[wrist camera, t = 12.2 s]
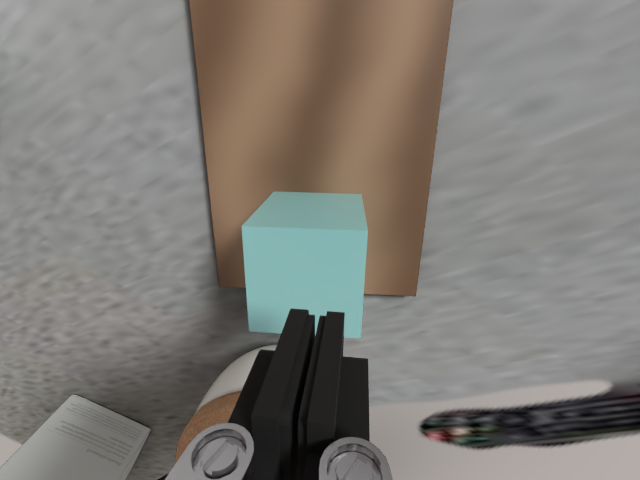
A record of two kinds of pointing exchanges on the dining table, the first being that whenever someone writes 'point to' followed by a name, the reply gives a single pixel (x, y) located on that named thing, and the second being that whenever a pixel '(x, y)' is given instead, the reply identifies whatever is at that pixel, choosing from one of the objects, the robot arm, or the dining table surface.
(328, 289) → the teal block
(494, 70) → the dining table surface
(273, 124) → the walnut board
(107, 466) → the supplement box
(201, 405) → the lidded jar
